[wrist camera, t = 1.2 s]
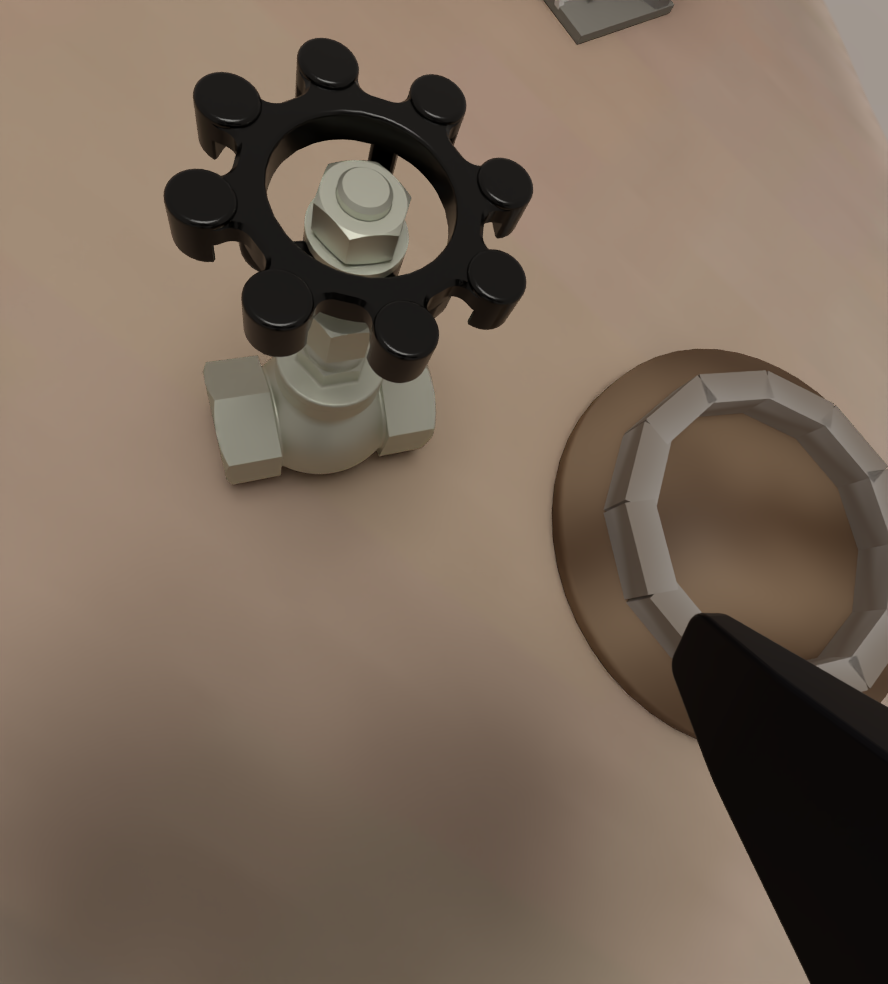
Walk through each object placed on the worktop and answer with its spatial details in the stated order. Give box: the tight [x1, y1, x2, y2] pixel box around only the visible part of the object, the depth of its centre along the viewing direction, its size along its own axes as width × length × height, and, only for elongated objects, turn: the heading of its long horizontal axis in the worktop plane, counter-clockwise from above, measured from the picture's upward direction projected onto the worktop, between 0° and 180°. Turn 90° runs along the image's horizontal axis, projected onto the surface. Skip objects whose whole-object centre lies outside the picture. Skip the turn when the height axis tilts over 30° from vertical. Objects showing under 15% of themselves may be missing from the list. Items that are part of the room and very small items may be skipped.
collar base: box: [552, 349, 888, 739], centre depth 24 cm, size 16×16×2 cm
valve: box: [164, 38, 533, 485], centre depth 16 cm, size 7×7×12 cm
